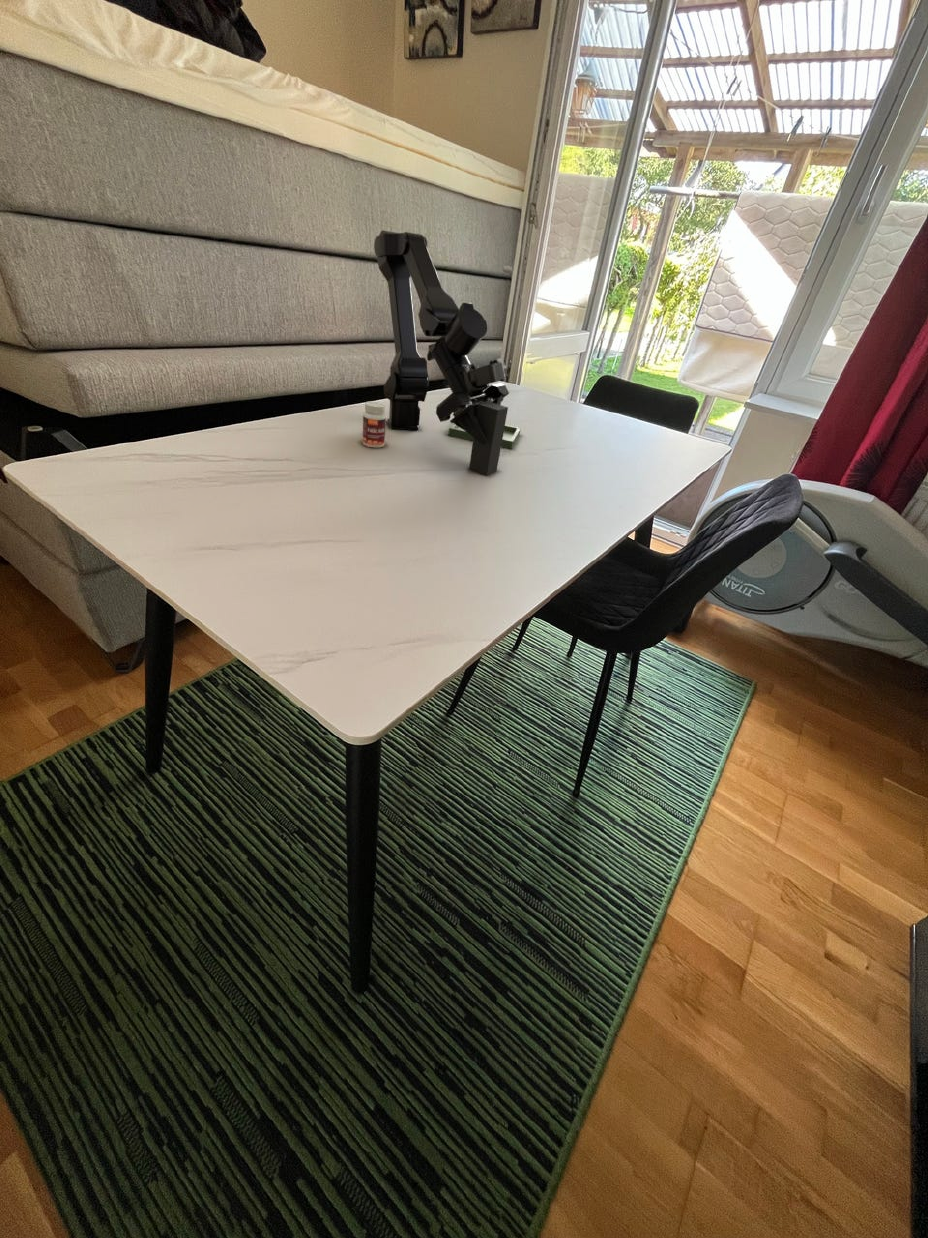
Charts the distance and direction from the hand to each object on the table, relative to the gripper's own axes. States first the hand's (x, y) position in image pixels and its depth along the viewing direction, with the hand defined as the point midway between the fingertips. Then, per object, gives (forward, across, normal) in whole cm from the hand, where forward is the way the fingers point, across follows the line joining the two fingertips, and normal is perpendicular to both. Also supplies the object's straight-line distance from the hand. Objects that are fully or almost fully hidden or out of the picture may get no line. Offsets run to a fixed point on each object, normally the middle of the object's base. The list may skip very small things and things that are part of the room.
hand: (493, 440), depth 104 cm
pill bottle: (-13, -8, +22) cm, 27 cm away
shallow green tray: (-5, +21, +14) cm, 26 cm away
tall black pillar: (+4, 0, +6) cm, 7 cm away
